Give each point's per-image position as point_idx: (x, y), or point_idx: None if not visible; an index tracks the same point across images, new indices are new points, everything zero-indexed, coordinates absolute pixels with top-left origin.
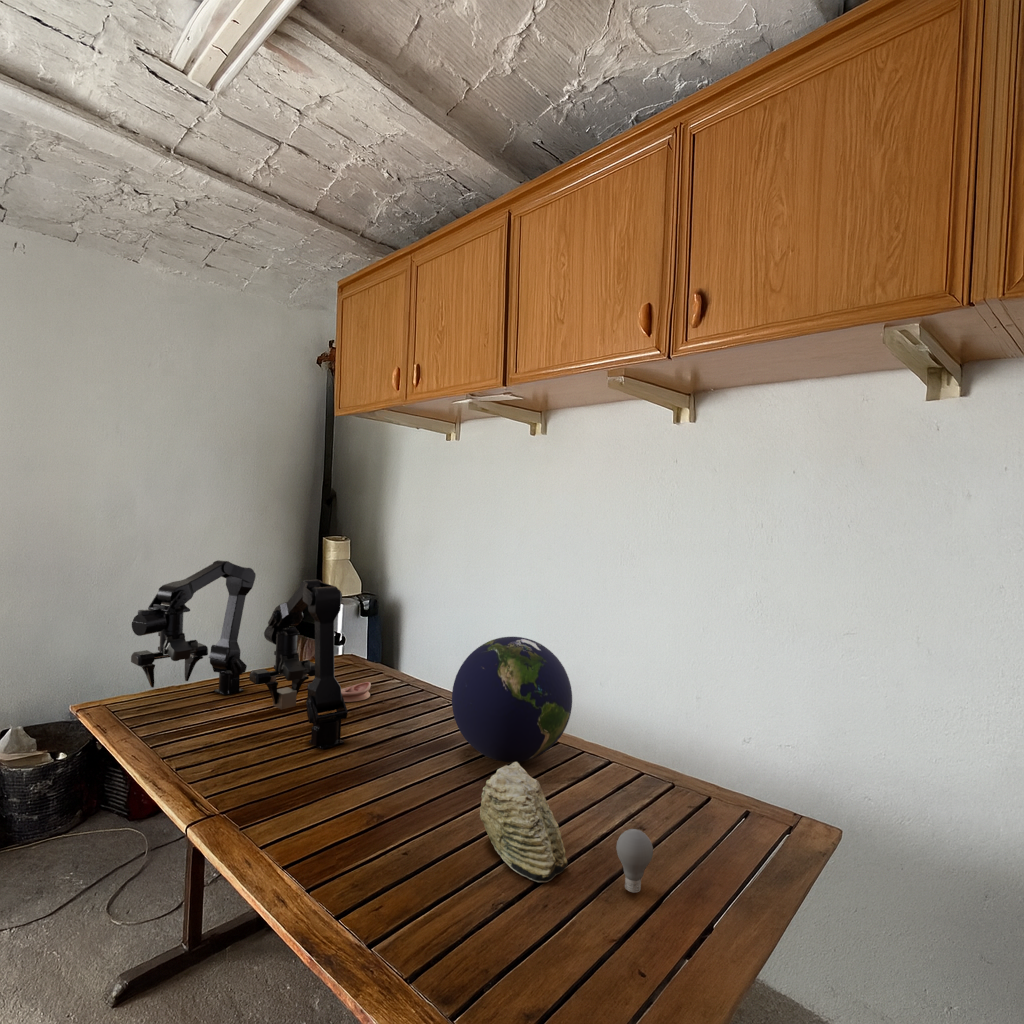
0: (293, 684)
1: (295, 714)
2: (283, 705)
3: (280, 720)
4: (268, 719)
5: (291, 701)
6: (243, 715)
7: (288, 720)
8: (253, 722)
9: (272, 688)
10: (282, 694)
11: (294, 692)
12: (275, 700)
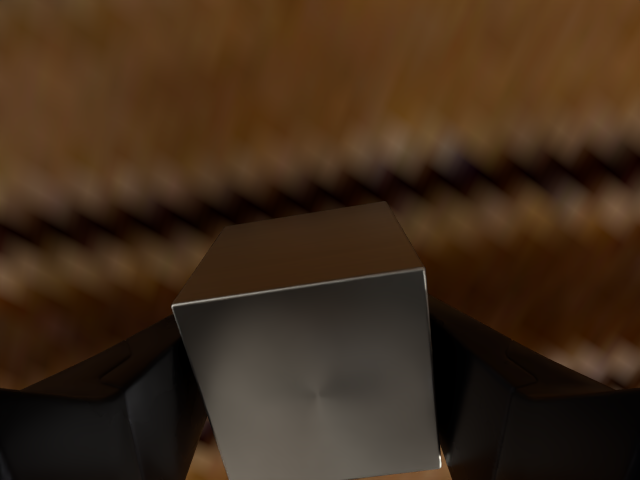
0: (161, 474)
1: (254, 170)
2: (371, 214)
3: (426, 90)
4: (493, 176)
5: (272, 237)
6: (585, 357)
7: (368, 45)
8: (623, 173)
9: (605, 390)
10: (418, 263)
11: (214, 287)
12: (442, 303)
